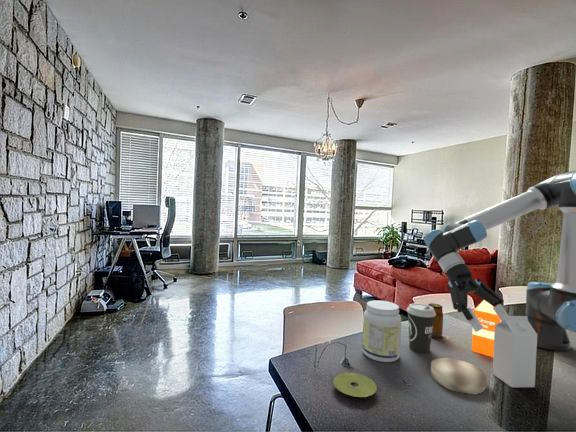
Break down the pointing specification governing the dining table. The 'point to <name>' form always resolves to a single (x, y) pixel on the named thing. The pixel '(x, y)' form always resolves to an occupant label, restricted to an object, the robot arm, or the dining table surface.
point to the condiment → (438, 323)
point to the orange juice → (485, 329)
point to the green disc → (355, 384)
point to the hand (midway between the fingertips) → (495, 327)
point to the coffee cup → (420, 326)
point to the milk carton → (515, 351)
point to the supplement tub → (382, 331)
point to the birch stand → (458, 375)
